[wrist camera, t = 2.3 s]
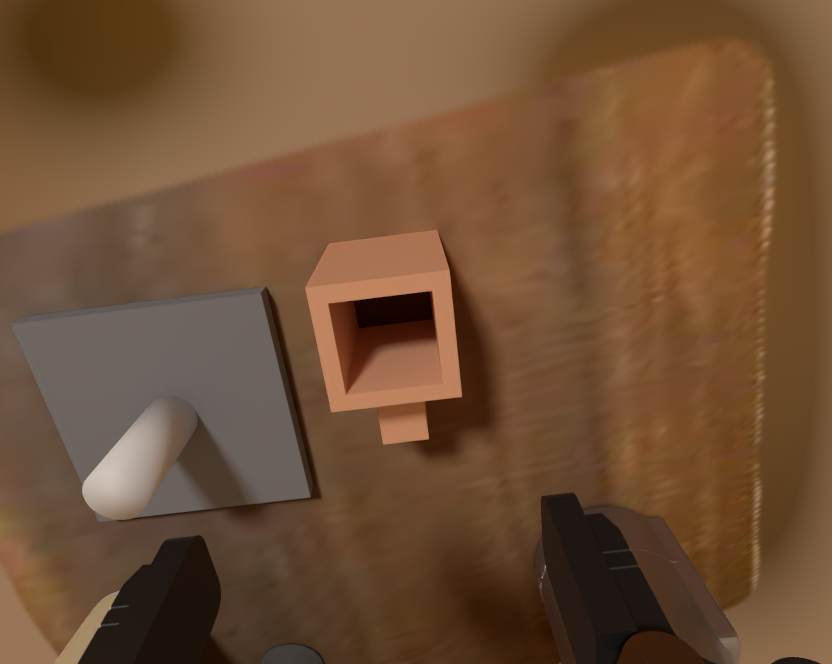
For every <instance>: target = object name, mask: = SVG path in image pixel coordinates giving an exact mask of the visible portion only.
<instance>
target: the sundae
mask: <svg viewBox="0 0 832 664" xmlns="http://www.w3.org/2000/svg"><path fill="white" fill-rule="evenodd" d="M261 664H324V663H323V660H322V658H321V656H320V655H319V654H318V653H317V652H315V651H314V650H313V649H311V648H309V647H306V646H304V645H299V644H284V645H279V646H277V647H274V648H273V649H271V650H269V651H268V652H267V653H266V654H265V655H264V657H263V658H262V661H261Z"/></svg>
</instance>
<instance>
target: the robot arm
mask: <svg viewBox="0 0 832 664" xmlns="http://www.w3.org/2000/svg"><path fill="white" fill-rule="evenodd" d="M541 517H542V540H541V541H540V543H539V544H538V547H537V550H536V552H535V557H534V568H535V573H536V577H537V581H538V584H539V589H540V593H541V597H542V600H543V602H544V605H545V608H546V612H547V615H548V619H549V622H550V626H551V629H552V633H553V636H554V639H555V643H556V646H557V650H558V653H559V657H560V660H561V663H562V664H739V660H740V654H741V641H740V638H739V636H738V634H737V633H736V631H735V629H734V628H733V626H732V625H731V623H730V622H729V620H728V619H727V617H726V615H725V614H724V612H723V611H722V609H721V608H720V606H719V605H718V603H717V601H716V600H715V598H714V597H713V595H712V594H711V592H710V591H709V589H708V587H707V586H706V584H705V583H704V581H703V580H702V578H701V577H700V575H699V573H698V572H697V570H696V569H695V567H694V566H693V564H692V563H691V561H690V559H689V558H688V556H687V555H686V553H685V552H684V550H683V549H682V547H681V545H680V544H679V542H678V541H677V539H676V538H675V536H674V535H673V533H672V531H671V530H670V528H669V527H668V525H667V524H666V522H665V521H664V519H663V518H662V517H657V518H647V517H644V516H642V515H640V514H638V513H636V512H634V511H631V510H627V509H623V508H619V507H598V508H591V509H587V510H582V508H581V505H580V503H579V501H578V499H577V497H576V495H575V494H574V493H564V494H556V495H547V496H542V497H541ZM220 600H221V589H220V583H219V579H218V577H217V574H216V571H215V568H214V565H213V563H212V560H211V557H210V554H209V551H208V549H207V546H206V543H205V541H204V539H203V537H202V536H200V535H197V536H189V537H180V538H172V539H167V540H165V541H164V542H163V544H162V545H161V547H160V549H159V551H158V553H157V554H156V556H155V558H154V560H153V562H152V564H149V565H143V566H142V567H141V568H140V569H139V570H138V571H137V572H136V573H135V574H134V575H133V576H132V577H131V578H130V579H129V580H128V581H127V582H126V583H125V584H124V585H123V586H122V588H121V590H120V591H119V593H118V595H117V596H116V598H115V600H114V602H113V603H112V605H111V610H108V612H107V614H106V615H105V617H104V619H103V621H102V622H101V627H100V628H98V629H97V631H96V633H95V634H94V636H93V638H92V640H91V641H90V643H89V645H88V646H87V648H86V650H85V652H84V653H83V655H82V657H81V658H80V660H79V662H78V664H200V661H201V658H202V655H203V653H204V650H205V647H206V644H207V642H208V639H209V636H210V633H211V630H212V628H213V625H214V622H215V619H216V617H217V614H218V611H219V607H220ZM772 664H820V663H818V662H815V661H812V660H809V659H805V658H799V657H787V658H782V659H779V660H777V661H775V662H773V663H772Z"/></svg>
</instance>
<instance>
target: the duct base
mask: <svg viewBox="0 0 832 664" xmlns="http://www.w3.org/2000/svg"><path fill="white" fill-rule="evenodd" d="M11 325H12V328H13V330H14V332H15V334H16V337H17V339H18V341H19V343H20V346H21V348H22V350H23V352H24V355H25V357H26V359H27V361H28V364H29V366H30V368H31V370H32V373H33V375H34V377H35V379H36V382H37V384H38V386H39V388H40V391H41V393H42V395H43V397H44V400H45V402H46V404H47V406H48V409H49V411H50V413H51V415H52V418H53V420H54V422H55V424H56V427H57V429H58V431H59V433H60V436H61V438H62V440H63V442H64V445H65V447H66V449H67V451H68V454H69V456H70V458H71V460H72V463H73V465H74V467H75V469H76V472H77V474H78V476H79V478H80V481H81V483H82V485H83V488H82V491H83V496H84V499H85V501H86V503H87V504H88V505H89V506H90V507H91V508H92V509H93V510H94V512H95V514H96V516H97V519H98V521H99V522H101V521H110V520H127V519H131V518H136V517H145V516H153V515H162V514H171V513H179V512H188V511H197V510H205V509H214V508H223V507H231V506H240V505H249V504H257V503H266V502H275V501H283V500H292V499H301V498H310V497H311V494H312V490H313V481H312V477H311V473H310V469H309V464H308V460H307V456H306V452H305V448H304V444H303V439H302V435H301V431H300V427H299V423H298V418H297V414H296V410H295V406H294V402H293V398H292V393H291V389H290V385H289V381H288V377H287V373H286V368H285V364H284V360H283V356H282V352H281V347H280V343H279V339H278V335H277V331H276V327H275V322H274V318H273V314H272V310H271V306H270V302H269V297H268V293H267V289H266V287H259V288H251V289H243V290H235V291H227V292H218V293H210V294H202V295H194V296H186V297H178V298H170V299H162V300H154V301H146V302H138V303H130V304H122V305H114V306H106V307H97V308H89V309H81V310H73V311H65V312H57V313H49V314H41V315H33V316H25V317H23V318H21V319H20V320H18V321H16V322H14V323H12V324H11Z"/></svg>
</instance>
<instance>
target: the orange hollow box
mask: <svg viewBox="0 0 832 664" xmlns="http://www.w3.org/2000/svg"><path fill="white" fill-rule="evenodd" d="M305 289H306V294H307V298H308V303H309V308H310V313H311V317H312V322H313V327H314V332H315V336H316V341H317V346H318V351H319V355H320V360H321V365H322V370H323V375H324V379H325V384H326V389H327V394H328V398H329V403H330V408H331V412H338V411H347V410H355V409H364V408H372V407H377V411H378V416H379V422H380V428H381V434H382V440H383V444H392V443H401V442H409V441H418V440H426V439H429V433H428V422H427V412H426V404H425V401H431V400H440V399H448V398H457V397H462V391H461V381H460V371H459V360H458V350H457V340H456V330H455V320H454V310H453V300H452V290H451V280H450V270H449V267H448V263H447V260H446V257H445V254H444V250H443V247H442V244H441V241H440V237H439V234H438V231H437V230H432V231H424V232H416V233H408V234H400V235H392V236H384V237H376V238H368V239H360V240H352V241H344V242H336V243H329V245H328V247H327V248H326V250H325V252H324V254H323V256H322V258H321V260H320V261H319V263H318V265H317V267H316V269H315V271H314V273H313V274H312V276H311V278H310V280H309V282H308V284H307V286H306V287H305ZM426 291H430V298H431V307H432V315H433V319H430V320H422V321H413V322H405V323H397V324H389V325H381V326H372V327H364V328H359V327H358V321H357V316H356V310H355V304H354V300H361V299H369V298H377V297H385V296H394V295H402V294H410V293H418V292H426Z"/></svg>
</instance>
